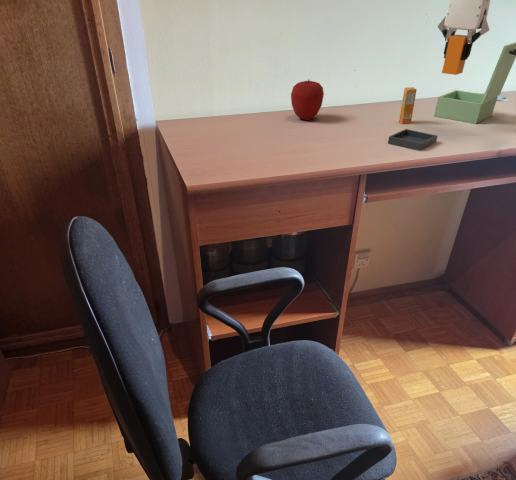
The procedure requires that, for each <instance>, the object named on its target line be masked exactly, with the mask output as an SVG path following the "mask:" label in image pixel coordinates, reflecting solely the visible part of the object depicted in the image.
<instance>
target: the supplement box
mask: <svg viewBox="0 0 516 480" xmlns="http://www.w3.org/2000/svg"><path fill="white" fill-rule="evenodd" d="M416 96H417V88H415V87H414V86H412V87H411V86H410V87H409V86H408V87H404V90H403V96H402V101H401V106H400V107H401V108H400V113H399V119H398V122H400V124H402V125H405V124H411V123H412V118H413V113H414V108H415V101H416Z"/></svg>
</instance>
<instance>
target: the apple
mask: <svg viewBox="0 0 516 480" xmlns="http://www.w3.org/2000/svg"><path fill="white" fill-rule="evenodd" d="M307 79H308V80H304V81H303V80H302V81H299V82H297V83H296V84H295V85H294V86H292V90H291V93H290V101H291V108H292V110H293V112H294V114H295V116H297V117H298V118H299V119H301V120H305V121H310V120H312V119H314V118H315V117H316V116H317V115H318V113H319V112H320V110H321V108H322V106H323V101H324V96H325V92H324V87H323V86H322V84H320V83H319V82H317V81H313V80H310V79H309V78H307Z"/></svg>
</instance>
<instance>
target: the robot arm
mask: <svg viewBox="0 0 516 480" xmlns="http://www.w3.org/2000/svg"><path fill="white" fill-rule="evenodd" d="M490 4H491V0H449V3H448V6H447V10H446V13H445V16H444V18H443V19H441V21H440V23H438V25H437V29H438V30H439V31H440V32H441V34H442V36H443V38H444V41H445V45H444V49H443V59H445V56H446V52H447V48H448V43H449V39H450V36H453V35H456V33H457V30H461V31H467V33H466V35H467V43H466V44H465V45H464V48H463V52H462V56H461V60H465V61H466V60H468V59H469V57H470V55H471V52H472V49H473V44H474V43H475V42H476V41H477V40H478V39H479V38H481V37H482V36H483V35H485V34H486V33H488V32H489V31H490V27H489V23H488V13H489V9H490ZM477 30H478V31H477Z"/></svg>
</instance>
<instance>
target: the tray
mask: <svg viewBox="0 0 516 480" xmlns="http://www.w3.org/2000/svg"><path fill="white" fill-rule="evenodd" d="M437 139H438V135H437V134H436V135H435V134H432V133H427V132H423V131H419V130H413V129H409V128H404V129H402V130H400V131H398V132H396V133H393V134H392V135H389V136H388V140H387V144H389V145H394V146H398V147H401V148H402V147H403V148H405V149H411V150H414V151H418V152H421V151H422V150H425V149H426V148H428V147H430V146H432V145H434V144H436V143H437Z"/></svg>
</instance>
